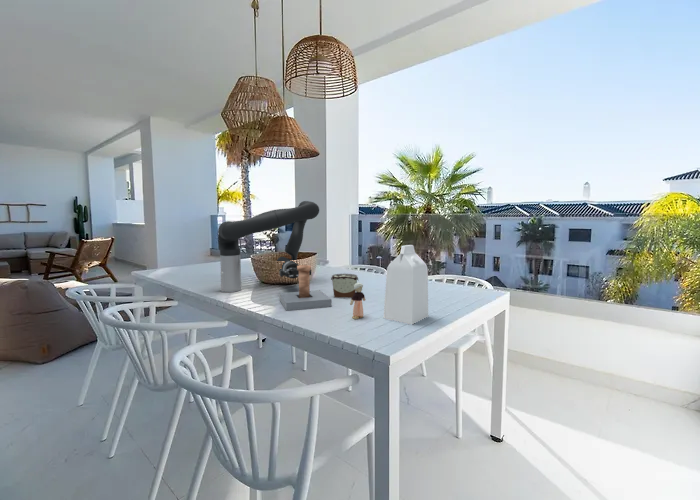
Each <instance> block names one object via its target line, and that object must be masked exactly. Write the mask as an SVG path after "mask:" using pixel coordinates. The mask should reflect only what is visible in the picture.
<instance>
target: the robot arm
mask: <svg viewBox="0 0 700 500" xmlns="http://www.w3.org/2000/svg"><path fill="white" fill-rule="evenodd" d="M319 213H320V207H319V205H318V204H317V203H315V202H314V201H309V200H303V201H301V202H300V203H299V204H298V206H295V207H291V208H289V207H288V208H278V209H271V210H268V211H264V212H261V213H259V214H256V215H254V216H253V217H250V218H247V219H243V220H242V219H241V220H236V221H235V220H233V221H228V220H227V221H224V222H222V223H220V225H219V226H218V230H217V236H218V237H217V238H218V249H219V257H220V258H219V259H220V289H221V290H220V291H221V293H223V292H225V293H232V292H233V293H234V292H239V291H242V273H241V272H242V265H241V258H242V257H241V249H240V244H239V240H240V239H242V238H244V237H247V236H249V235H252V234H258V233H263V232H267V231H272V230H276V229H278V228H283V227H285V226H288V225H290V224H293V227H292V231H291V232H290V236H289V239H288V240H287V244H286V246H285V250H284V252H285V253H286V254H288V255H289V256H290V257H291V258H288V257H284V256H280V257H278V258H277V259H276V261H285V263H283V265H282V269H280V270H279V277H281V278H282V277H286V278H288V279H296V278H297V279H298V278H299V271H298V270H297V266H299V265H300V264H298V263H297V262H296V263H295V262H293V261H290V260H297V259H298V255H299V251H300V250H301V246H302V243H303V239H304V231H305V230H304V229H305V226H306V223H307V222H308V220H312V219H314V218H316V217H317V216H318V215H319ZM309 276H312V269H311V270H309Z"/></svg>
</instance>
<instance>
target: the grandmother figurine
mask: <svg viewBox="0 0 700 500" xmlns="http://www.w3.org/2000/svg"><path fill="white" fill-rule="evenodd" d="M363 288H364V284H363V283H361V282H359V281H357V283H356V284H355V285H354V289H355V291H356V292H355V293H354V295H353V297H352V298H350V302H349V304H350V306H352V305H353V309H352V319H353V320H358V319H359V320H360V318H364V307H363V302H365V301H366V295H365V294H364V292H362V291H363Z"/></svg>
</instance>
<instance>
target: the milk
mask: <svg viewBox="0 0 700 500" xmlns="http://www.w3.org/2000/svg"><path fill="white" fill-rule="evenodd" d="M400 248H401V249H400V253H399V254H398V255H397V256H396V257H395V258H394V259H393V260H391V262H390V263H389V264H388V266H387V267H386V275H385V276H386V278H385V290H384V305H383V319H384V318H385V320H390V321H393V320H394V321H393V322H398V321H399V322H398V323H402V322H403V323H402V324H406V323H407V324H408V325H411V324H412V325H414V323H415V324H416V322H417V323H419V322H420V320H421V321H423V320H425V319H427V318H429V276H428V274H429V273H428V272H429V271H428V270H429V269H428V265H427V264H426V262H425V261H424V260H423V259H422V258H421V257H420V256H419V255H418V254H417V252H416V250H415V246H414V245H413V244H406V245H401V247H400ZM426 317H427V318H426ZM424 318H425V319H424ZM422 319H423V320H422ZM418 321H419V322H418ZM407 324H406V325H407Z"/></svg>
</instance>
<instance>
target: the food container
mask: <svg viewBox="0 0 700 500" xmlns="http://www.w3.org/2000/svg"><path fill="white" fill-rule="evenodd" d="M330 280H331V282H332V283H331V284H332V290H333V291H332V292H333V298H334V299H335V298H336V299H352V297H353V295H354V293H355V292H356V291H355V289H354V285H355V284H356V283H358V282H359V277H358V275H357V274H354V273H335V274H332V275H331V277H330Z"/></svg>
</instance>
